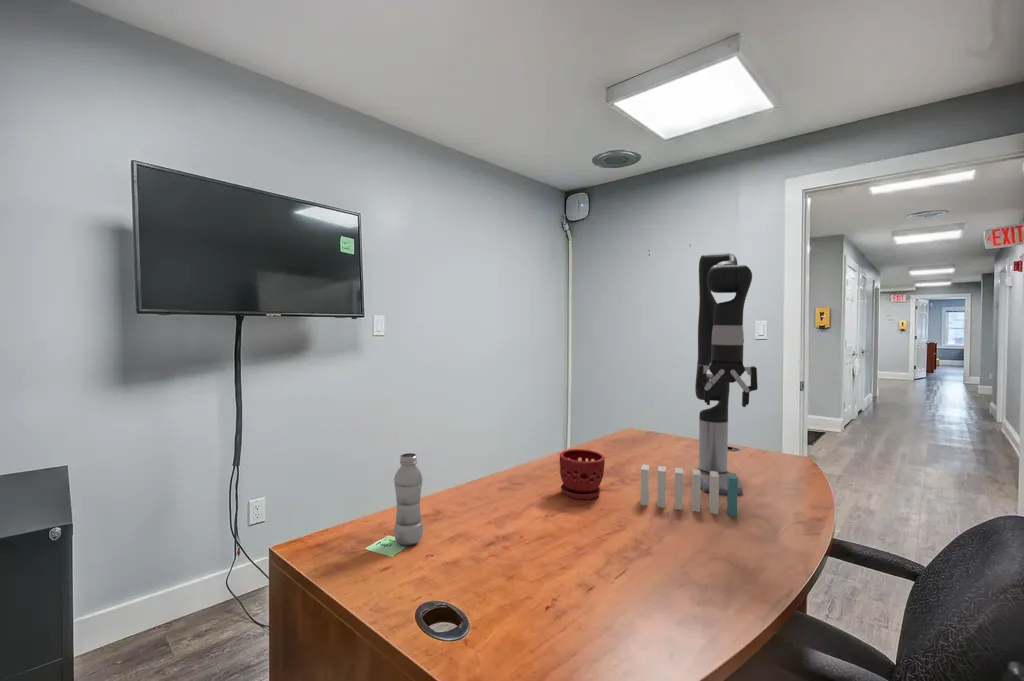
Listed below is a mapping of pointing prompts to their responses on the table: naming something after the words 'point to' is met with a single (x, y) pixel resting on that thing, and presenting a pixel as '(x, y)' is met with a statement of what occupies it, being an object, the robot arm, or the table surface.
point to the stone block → (722, 483)
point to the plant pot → (581, 473)
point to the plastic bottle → (408, 501)
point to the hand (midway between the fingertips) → (725, 405)
